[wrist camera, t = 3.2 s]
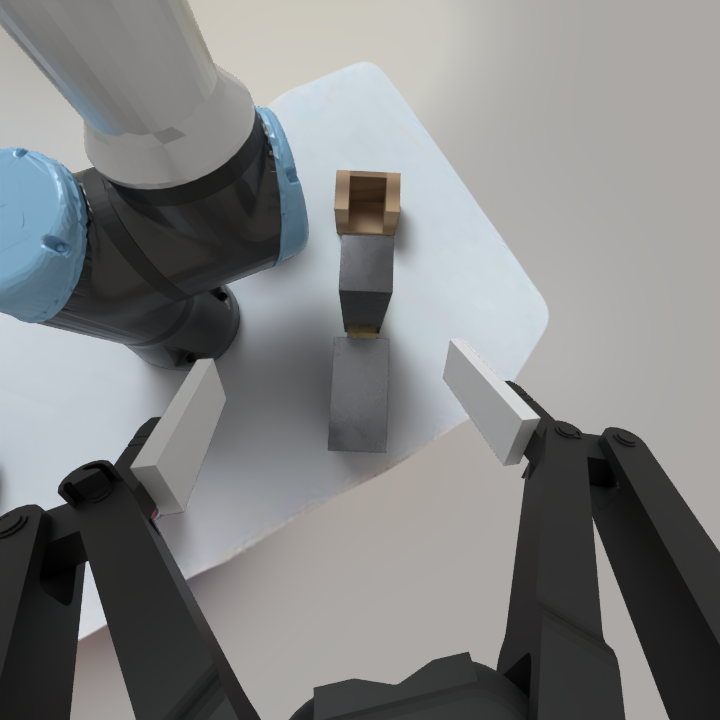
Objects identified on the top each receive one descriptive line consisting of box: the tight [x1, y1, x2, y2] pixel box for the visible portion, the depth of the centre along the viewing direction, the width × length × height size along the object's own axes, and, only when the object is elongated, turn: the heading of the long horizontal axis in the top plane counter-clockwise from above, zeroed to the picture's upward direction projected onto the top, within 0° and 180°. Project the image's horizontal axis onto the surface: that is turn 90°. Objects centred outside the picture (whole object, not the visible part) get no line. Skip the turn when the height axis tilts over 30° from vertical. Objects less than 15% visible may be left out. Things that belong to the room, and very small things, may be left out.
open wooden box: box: [334, 170, 401, 235], centre depth 42 cm, size 6×9×6 cm, turn 88°
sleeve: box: [328, 337, 389, 453], centre depth 38 cm, size 14×7×6 cm, turn 178°
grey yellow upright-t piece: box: [339, 235, 394, 338], centre depth 32 cm, size 24×4×17 cm, turn 178°
